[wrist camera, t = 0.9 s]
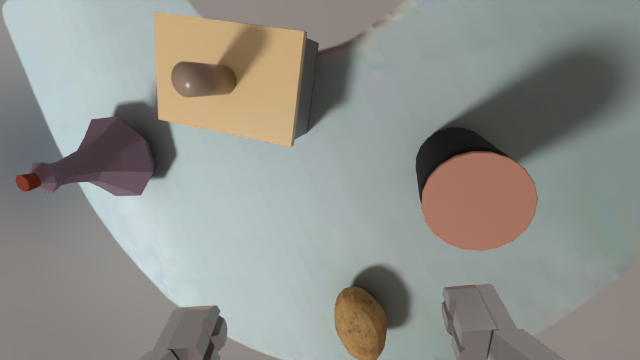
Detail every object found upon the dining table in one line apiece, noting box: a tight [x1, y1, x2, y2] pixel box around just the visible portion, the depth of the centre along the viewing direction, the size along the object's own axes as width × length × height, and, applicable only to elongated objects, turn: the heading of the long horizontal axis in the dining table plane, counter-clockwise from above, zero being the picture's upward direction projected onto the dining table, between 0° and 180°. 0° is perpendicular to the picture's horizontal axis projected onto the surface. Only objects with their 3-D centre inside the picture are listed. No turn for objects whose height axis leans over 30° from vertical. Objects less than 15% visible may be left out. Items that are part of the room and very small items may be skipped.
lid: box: [154, 12, 307, 147], centre depth 41 cm, size 15×22×11 cm
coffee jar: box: [416, 128, 538, 251], centre depth 39 cm, size 11×11×18 cm
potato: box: [335, 286, 387, 360], centre depth 56 cm, size 10×14×8 cm
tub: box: [295, 38, 319, 139], centre depth 48 cm, size 14×21×8 cm, turn 81°
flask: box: [16, 116, 154, 196], centre depth 53 cm, size 16×16×20 cm
